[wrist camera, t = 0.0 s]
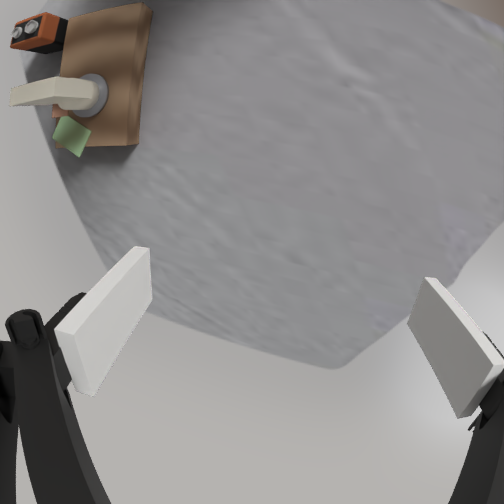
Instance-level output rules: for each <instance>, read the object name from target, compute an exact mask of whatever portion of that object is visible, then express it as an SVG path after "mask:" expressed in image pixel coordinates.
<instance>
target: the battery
mask: <svg viewBox="0 0 504 504" xmlns="http://www.w3.org/2000/svg"><path fill="white" fill-rule="evenodd" d="M67 26H68V20H66V19H63V18H61V17H58V16H55V15H52V14H50V13H47V12H45V13H42V14H39V15H36V16H33V17H30V18H27V19H25V20H22V21H20V22H17V23H16V25H15V28H14V30H13V31H12V41H11V45H10V47H11V48H13V49H19V50H26V51H31V52H37V53H42V54H48V53H52V52H57V51H62V50H63V48H64V42H65V36H66V31H67Z"/></svg>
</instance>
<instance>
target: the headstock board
mask: <svg viewBox="0 0 504 504" xmlns="http://www.w3.org/2000/svg"><path fill="white" fill-rule="evenodd" d="M152 13H153V11H152V10H151V9H150V8H148V7H147V6H146V5H145V4H144V3H143V2H140V3H134V4H128V5H123V6H118V7H113V8H108V9H104V10H99V11H95V12H91V13H87V14H84V15H80V16H76V17H73V18H70V19H69V21H68V26H67V31H66V36H65V42H64V48H63V54H62V61H61V69H60V77H64V78H78V79H79V78H80V77H82V76H84V75H86V74H97V75H100V76H102V77H103V78H104V79H105V80H106V81H107V84H108V87H109V96H108V100H107V102H106V104H105V106H104V108H103V109H102V110H101V111H100V112H99V113H98V114H96V115H95V116H92V117H79V116H77V115H76V114H75V113H74V112H73V111H72V110H64V109H61V108H60V107H59V105H58V103H57V104H53V109H52V118H56V129H55V132H54V134H53V137H52V138H53V139H54V140H55V141H56V148H67V149H68V150H69V151H71V152H72V153H74V154H75V155H76V156H78V157H80V156H81V154H82V151H83V149H84V147H88V146H126V145H132V144H139V127H140V111H141V98H142V87H143V77H144V68H145V60H146V52H147V44H148V37H149V31H150V25H151V19H152Z"/></svg>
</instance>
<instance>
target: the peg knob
mask: <svg viewBox="0 0 504 504" xmlns="http://www.w3.org/2000/svg"><path fill="white" fill-rule="evenodd" d="M108 96H109V87H108V84H107V81H106V80H105V79H104V78H103V77H102V76H100V75H97V74H86V75H84V76H82V77H80V78H79V79H78V78H64V77H57V76H56V77H51V78H47V79H43V80H39V81H35V82H32V83H28V84H25V85H21V86H18V87H14V88H11V94H10V106H27V105H28V106H30V105H51V104H57V103H58V105H59V107H60V108H61V109H64V110H72V111H73V112H74V113H75V114H76V115H77V116H79V117H92V116H95V115H96V114H98V113H99V112H100V111H101V110H102V109H103V108H104V106H105V104H106V102H107V100H108Z"/></svg>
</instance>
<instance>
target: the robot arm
mask: <svg viewBox="0 0 504 504" xmlns="http://www.w3.org/2000/svg"><path fill="white" fill-rule="evenodd" d="M151 301H152V287H151V272H150V251H149V248H145V247H136V246H134V247H133V248H132V249H131V250H130V251H129V252H128V253H127V254H126V255H125V256H124V257H123V258H122V259H121V260H120V261H119V262H118V263H117V264H116V265H115V266H114V267H113V268H112V269H111V270H110V271H109V272H108V273H107V274H106V275H105V276H104V277H103V278H102V279H101V280H100V281H99V282H98V283H97V284H96V285H95V286H94V287H93V288H92V289H91V290H90V291H89V292H88V293H83V292H82V293H79V294H78V295H76V296H74V297H72V298H71V299H70V300H69V301H68V302H67V303H66V304H65V305H64V307H62V308H61V309H60V310H59V312H57V313H56V314H55V315H54V316H53V317H52V318H51V319H50V321H48V323H47V324H46V325H45V326H44V325H43V321H42V318H41V315H40V313H39V312H37V311H36V310H32V309H25V310H20V311H17V312H15V313H14V314H12V315H11V316H10V317H9V318H8V319H7V320H6V323H5V326H6V329H7V331H8V334H9V337H10V339H11V342H10V341H0V504H16V452H17V438H18V427H19V428H20V434H21V440H22V446H23V450H24V456H25V460H26V465H27V469H28V473H29V477H30V481H31V484H32V488H33V491H34V495H35V498H36V502H37V504H111V502H110V500H109V498H108V496H107V494H106V492H105V490H104V488H103V486H102V483H101V481H100V479H99V477H98V474H97V472H96V470H95V467H94V465H93V463H92V460H91V457H90V455H89V452H88V450H87V447H86V444H85V442H84V439H83V436H82V433H81V430H80V428H79V424H78V421H77V418H76V415H75V412H74V408H73V405H72V402H71V398H70V394H69V392H68V390H67V386H68V385H69V383H70V382H71V380H72V382H73V385H74V387H75V389H76V391H77V392H80V393H83V394H86V395H89V396H92V397H94V396H95V395H96V393H97V391H98V390H99V388H100V386H101V384H102V383H103V381H104V379H105V377H106V375H107V374H108V372H109V370H110V368H111V367H112V365H113V363H114V362H115V360H116V358H117V356H118V355H119V353H120V352H121V350H122V348H123V347H124V345H125V343H126V341H127V340H128V338H129V337H130V335H131V333H132V332H133V330H134V328H135V327H136V325H137V323H138V322H139V320H140V319H141V317H142V315H143V314H144V312H145V311H146V309H147V307H148V306H149V304H150V303H151ZM407 324H408V326H409V327H410V329H411V331H412V333H413V334H414V336H415V338H416V340H417V341H418V343H419V345H420V347H421V348H422V350H423V352H424V354H425V356H426V358H427V359H428V361H429V363H430V365H431V367H432V369H433V371H434V372H435V374H436V376H437V378H438V380H439V382H440V384H441V386H442V388H443V390H444V392H445V394H446V396H447V398H448V400H449V402H450V404H451V406H452V408H453V410H454V412H455V414H456V416H457V418H463V417H468V416H471V415H472V414H473V412H474V411H475V410H476V408H477V407H478V406H480V408H481V409H482V411H481V413H480V414H479V416H478V417H477V418H476V419H475V420H474V422H473V423H472V424H471V425H470V427H469V429H468V430H469V431H470V430H471V429H472V427H474V426H475V429H474V431H473V436H472V440H471V443H470V446H469V450H468V453H467V456H466V459H465V462H464V465H463V468H462V470H461V474H460V476H459V479H458V482H457V484H456V486H455V489H454V492H453V494H452V496H451V498H450V501H449V503H448V504H504V357H503V355H502V354H501V353H500V351H499V350H498V349H496V346H495V345H494V344H493V343H492V341H491V340H490V338H489V337H488V336H487V335H486V334H485V333H484V332H483V331H481V329H480V328H479V327H478V326H477V325H476V323H475V322H474V321H473V320H472V319H471V318H470V316H469V315H468V314H467V313H466V312H465V310H464V309H463V308H462V307H461V306H460V304H459V303H458V302H457V301H456V300H455V299H454V298H453V296H452V295H451V294H450V293H449V292H448V291H447V290H446V289H445V288H444V286H443V285H442V284H441V283H440V282H439V281H438V280H437V279H436V278H429V277H424V278H423V281H422V284H421V287H420V290H419V293H418V296H417V299H416V301H415V304H414V307H413V310H412V312H411V315H410V317H409V320H408V323H407Z"/></svg>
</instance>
